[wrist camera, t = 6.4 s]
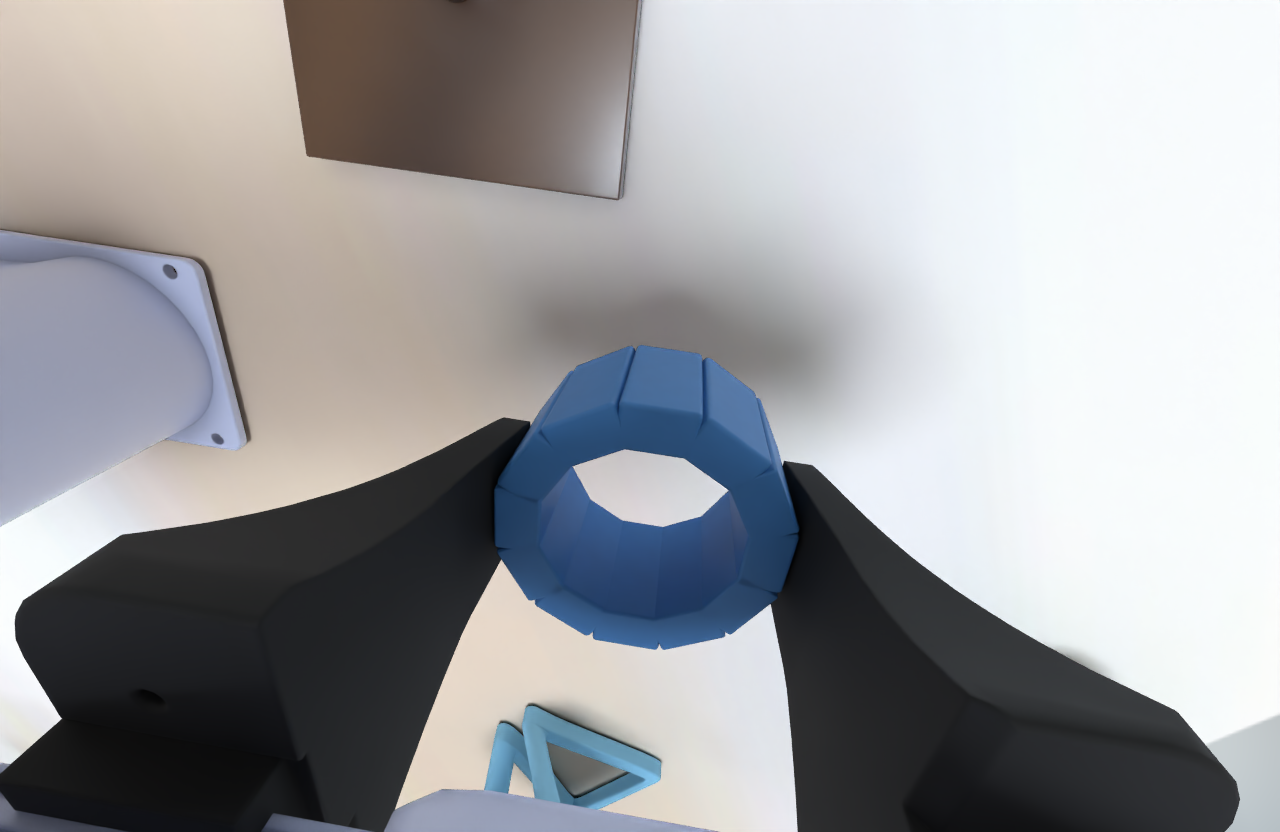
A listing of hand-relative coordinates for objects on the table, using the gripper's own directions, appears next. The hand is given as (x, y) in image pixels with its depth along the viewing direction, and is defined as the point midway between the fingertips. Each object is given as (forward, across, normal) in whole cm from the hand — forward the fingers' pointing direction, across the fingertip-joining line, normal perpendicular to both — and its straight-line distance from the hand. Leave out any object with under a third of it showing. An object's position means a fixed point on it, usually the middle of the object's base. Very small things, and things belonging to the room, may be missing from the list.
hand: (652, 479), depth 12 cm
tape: (+1, 0, 0) cm, 1 cm away
